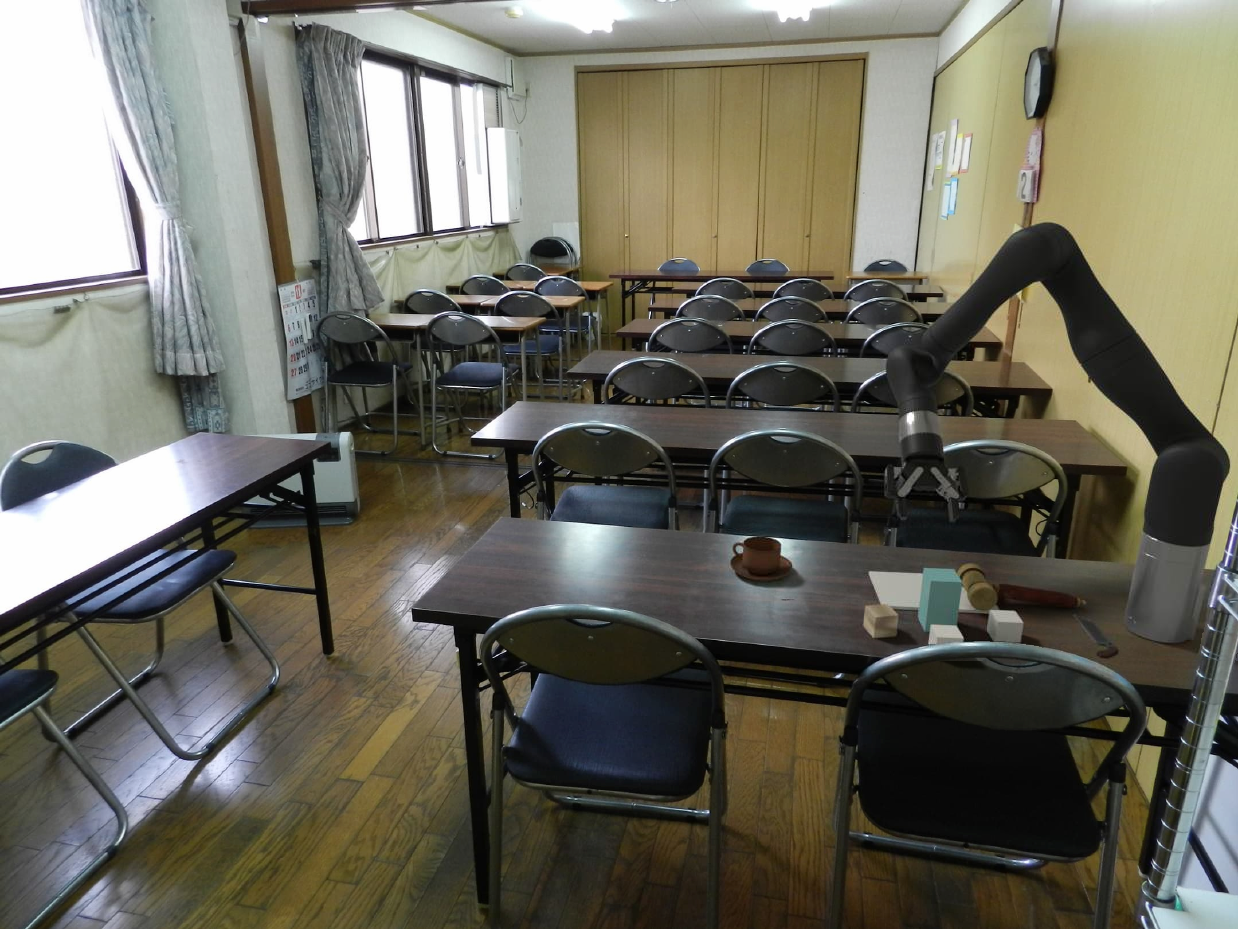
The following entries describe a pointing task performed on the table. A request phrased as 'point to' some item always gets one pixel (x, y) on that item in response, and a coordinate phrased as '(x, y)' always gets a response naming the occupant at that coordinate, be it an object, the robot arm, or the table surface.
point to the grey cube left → (1005, 626)
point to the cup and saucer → (760, 559)
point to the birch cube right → (880, 620)
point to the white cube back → (944, 634)
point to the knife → (1097, 637)
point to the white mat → (909, 591)
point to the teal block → (939, 597)
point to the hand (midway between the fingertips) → (928, 519)
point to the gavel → (1007, 591)
